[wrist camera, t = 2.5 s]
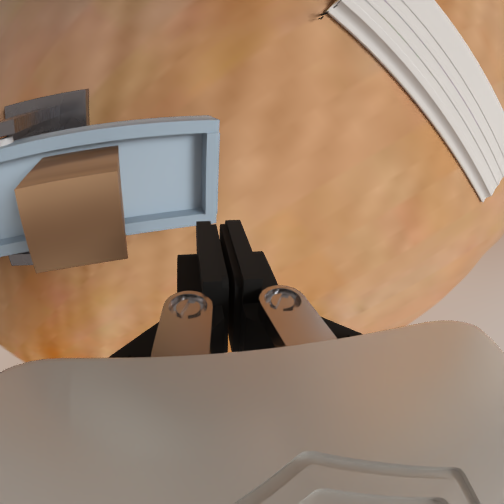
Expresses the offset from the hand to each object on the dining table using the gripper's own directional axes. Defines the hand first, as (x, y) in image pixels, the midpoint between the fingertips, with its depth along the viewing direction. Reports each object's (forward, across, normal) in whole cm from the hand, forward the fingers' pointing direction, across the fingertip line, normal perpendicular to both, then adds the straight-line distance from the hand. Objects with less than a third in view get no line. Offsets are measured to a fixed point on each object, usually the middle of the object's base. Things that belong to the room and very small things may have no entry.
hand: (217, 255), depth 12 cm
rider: (+8, +8, -1) cm, 11 cm away
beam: (+8, +13, -1) cm, 15 cm away
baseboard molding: (+15, -25, -10) cm, 31 cm away
